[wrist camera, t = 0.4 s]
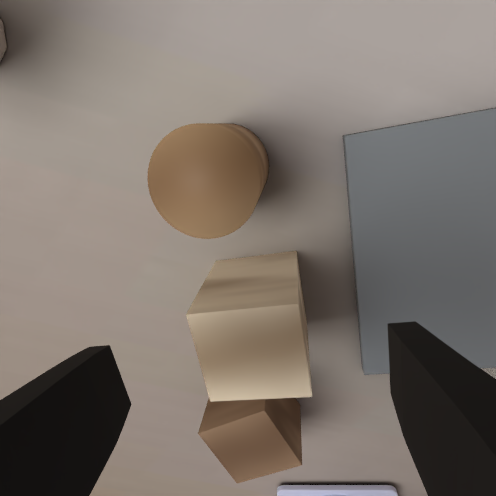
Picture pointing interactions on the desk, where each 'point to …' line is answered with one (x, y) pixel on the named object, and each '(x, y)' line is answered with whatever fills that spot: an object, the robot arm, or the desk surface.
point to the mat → (425, 233)
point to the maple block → (252, 329)
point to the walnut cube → (253, 435)
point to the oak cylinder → (208, 178)
